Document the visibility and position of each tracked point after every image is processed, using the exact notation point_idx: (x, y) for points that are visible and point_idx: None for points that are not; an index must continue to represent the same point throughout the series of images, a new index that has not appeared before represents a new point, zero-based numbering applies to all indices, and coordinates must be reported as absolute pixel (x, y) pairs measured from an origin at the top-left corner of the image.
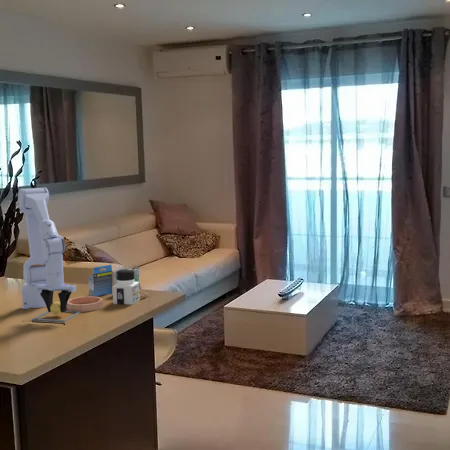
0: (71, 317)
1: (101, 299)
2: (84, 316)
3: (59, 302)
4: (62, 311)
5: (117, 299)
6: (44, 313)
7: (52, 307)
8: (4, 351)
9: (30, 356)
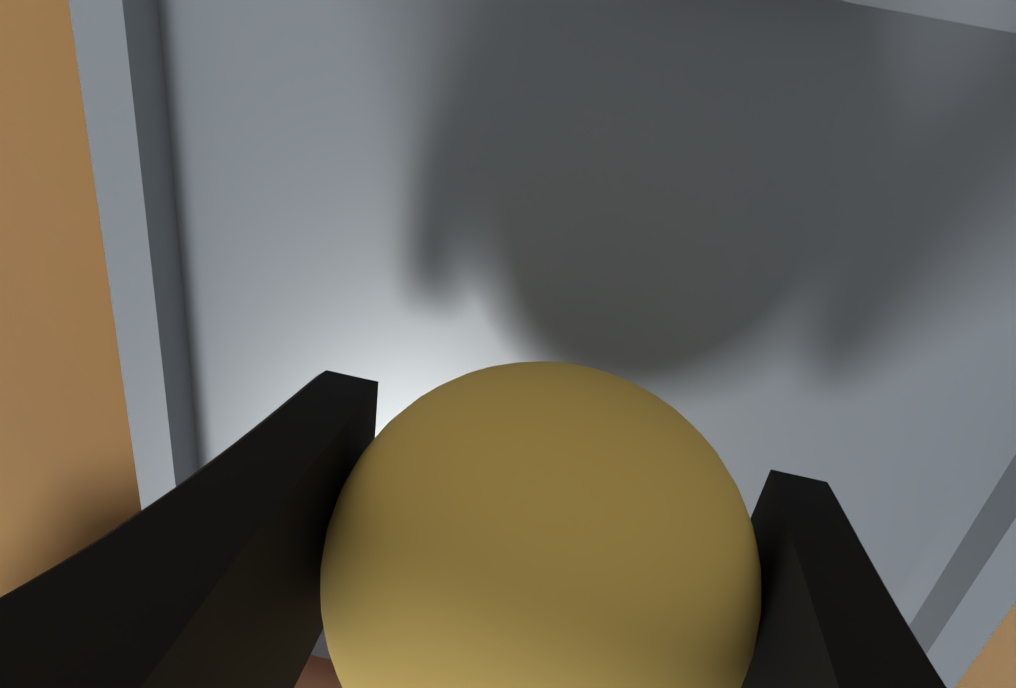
0: (117, 235)
1: None
2: (58, 450)
3: None
4: (311, 383)
5: None
6: (977, 583)
7: (621, 495)
8: None
9: None
